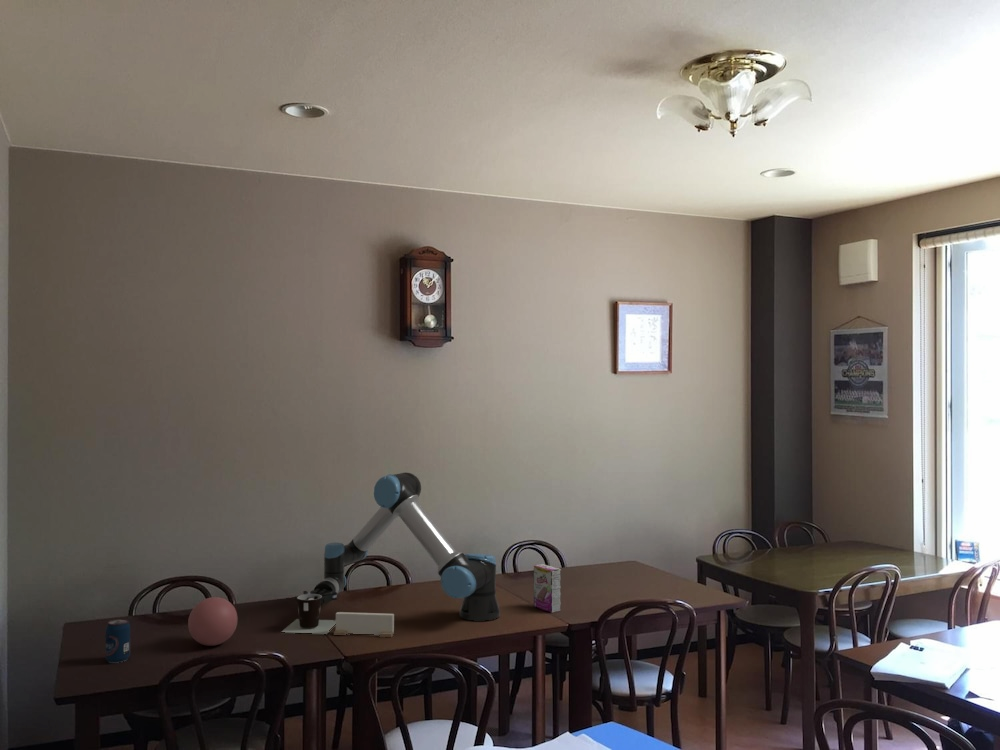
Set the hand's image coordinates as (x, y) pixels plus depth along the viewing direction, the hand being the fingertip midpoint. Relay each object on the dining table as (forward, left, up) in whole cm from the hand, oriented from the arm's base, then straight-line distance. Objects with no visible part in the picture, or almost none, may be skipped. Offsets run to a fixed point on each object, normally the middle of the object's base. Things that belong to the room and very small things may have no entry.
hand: (305, 606), depth 283 cm
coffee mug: (0, -6, -8) cm, 10 cm away
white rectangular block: (-21, 0, -9) cm, 23 cm away
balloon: (+27, +15, -9) cm, 32 cm away
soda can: (+48, +35, -9) cm, 60 cm away
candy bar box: (-83, -39, -9) cm, 92 cm away
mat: (0, -6, -9) cm, 10 cm away
